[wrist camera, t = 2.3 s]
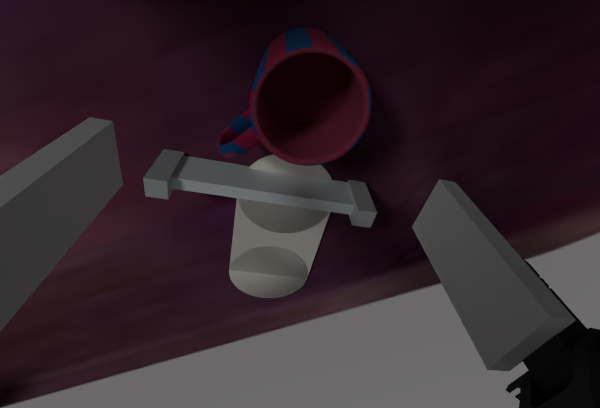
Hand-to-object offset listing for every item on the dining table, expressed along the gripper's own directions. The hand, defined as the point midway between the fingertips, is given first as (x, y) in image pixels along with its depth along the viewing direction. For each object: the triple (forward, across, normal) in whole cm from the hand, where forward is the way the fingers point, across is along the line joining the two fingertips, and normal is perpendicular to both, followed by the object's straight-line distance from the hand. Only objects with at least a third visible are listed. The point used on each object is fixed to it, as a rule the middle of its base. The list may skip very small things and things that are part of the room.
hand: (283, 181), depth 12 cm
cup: (+12, 0, 0) cm, 12 cm away
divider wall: (+12, 0, -7) cm, 14 cm away
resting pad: (+12, +2, -14) cm, 19 cm away
